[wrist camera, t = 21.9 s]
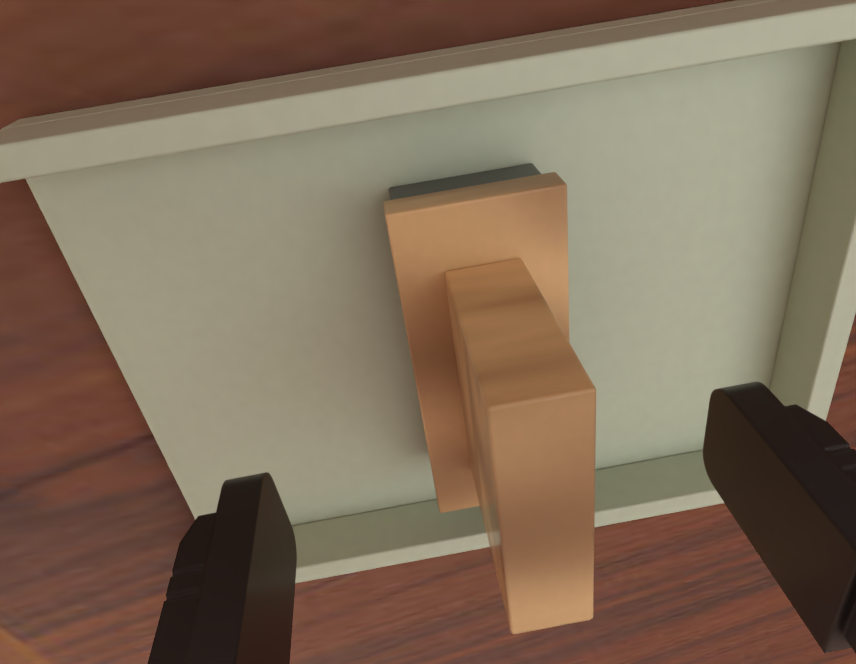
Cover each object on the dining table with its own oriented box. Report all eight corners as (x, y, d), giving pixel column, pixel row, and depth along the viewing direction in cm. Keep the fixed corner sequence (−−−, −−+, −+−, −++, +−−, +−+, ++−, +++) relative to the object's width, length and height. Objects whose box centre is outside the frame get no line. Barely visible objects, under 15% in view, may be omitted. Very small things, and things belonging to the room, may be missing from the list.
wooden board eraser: (550, 438, 22) (640, 650, 16) (430, 460, 22) (468, 683, 16) (540, 153, 17) (671, 293, 10) (379, 180, 17) (404, 341, 10)
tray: (17, 119, 16) (-45, 152, 13) (853, -20, 16) (947, -13, 14) (216, 533, 24) (202, 601, 22) (760, 433, 25) (807, 488, 22)
